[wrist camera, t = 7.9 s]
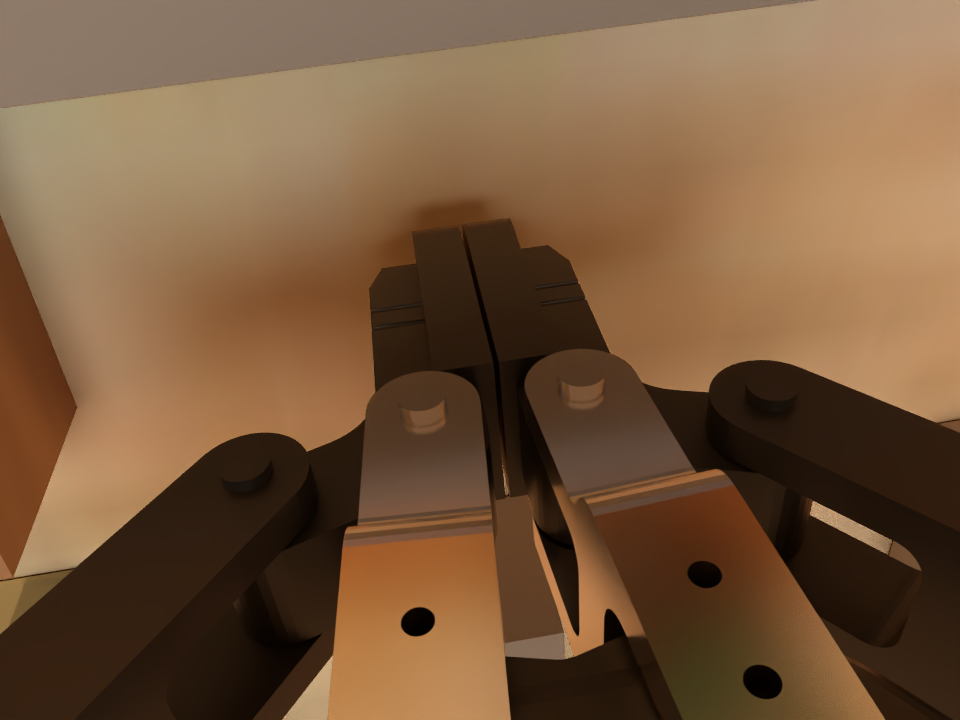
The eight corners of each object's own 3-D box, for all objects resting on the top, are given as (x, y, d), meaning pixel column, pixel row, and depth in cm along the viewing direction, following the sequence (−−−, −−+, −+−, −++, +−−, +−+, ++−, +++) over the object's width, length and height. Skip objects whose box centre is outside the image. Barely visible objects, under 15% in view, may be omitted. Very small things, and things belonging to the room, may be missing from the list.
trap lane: (1349, -238, 12) (1670, -230, 9) (959, 646, 24) (1042, 764, 21) (-855, 22, 10) (-1323, 134, 7) (-40, 833, 22) (-92, 989, 20)
